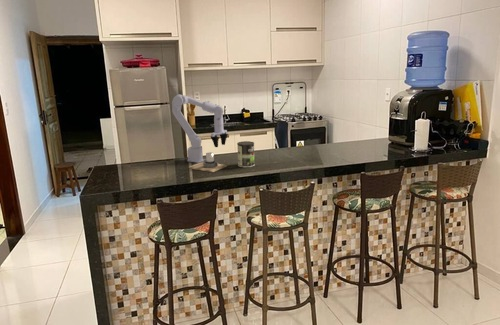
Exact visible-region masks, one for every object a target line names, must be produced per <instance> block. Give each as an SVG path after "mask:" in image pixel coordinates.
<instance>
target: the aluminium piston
mask: <svg viewBox="0 0 500 325" xmlns="http://www.w3.org/2000/svg"><path fill="white" fill-rule="evenodd" d="M205 157H206V158H205V159H206V160H205V161H206V162H207V163H208V164H211V163H214V161H215V158H214V157H215V154H214V152H210V151H209V152H206V153H205Z"/></svg>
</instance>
